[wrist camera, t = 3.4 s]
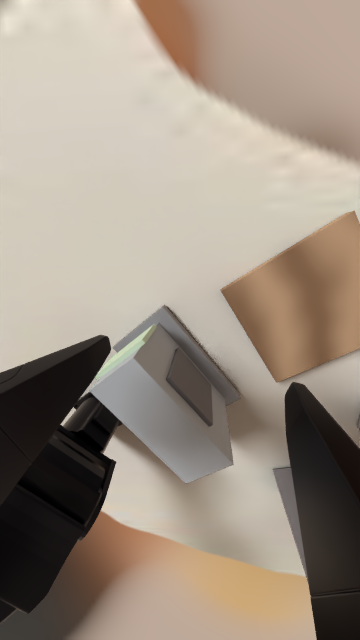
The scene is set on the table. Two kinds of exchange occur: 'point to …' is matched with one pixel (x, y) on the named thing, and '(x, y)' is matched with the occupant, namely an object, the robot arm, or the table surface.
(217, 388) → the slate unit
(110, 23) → the table surface
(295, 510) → the block
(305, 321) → the walnut pad
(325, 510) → the robot arm
